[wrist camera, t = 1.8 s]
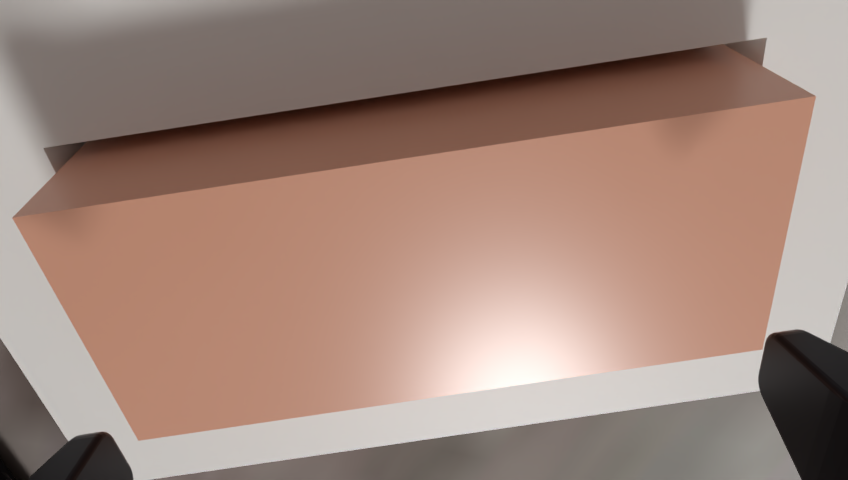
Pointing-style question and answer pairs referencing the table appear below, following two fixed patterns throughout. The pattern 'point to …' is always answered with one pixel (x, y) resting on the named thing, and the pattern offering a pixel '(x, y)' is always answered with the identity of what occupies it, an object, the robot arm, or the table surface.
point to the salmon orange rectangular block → (427, 239)
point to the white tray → (360, 79)
